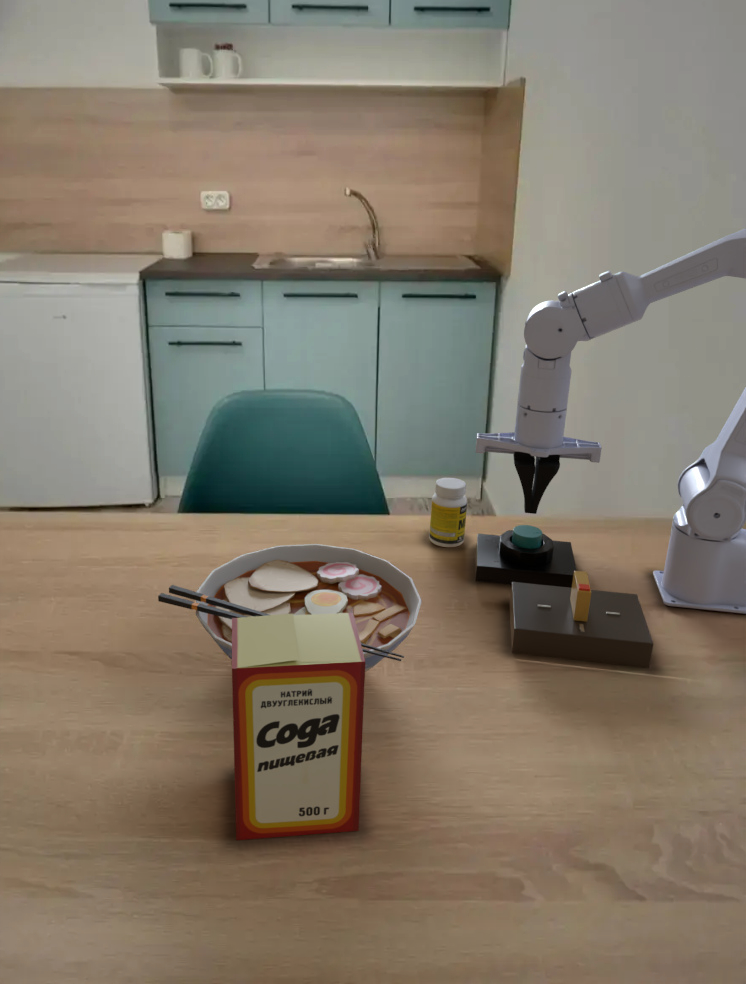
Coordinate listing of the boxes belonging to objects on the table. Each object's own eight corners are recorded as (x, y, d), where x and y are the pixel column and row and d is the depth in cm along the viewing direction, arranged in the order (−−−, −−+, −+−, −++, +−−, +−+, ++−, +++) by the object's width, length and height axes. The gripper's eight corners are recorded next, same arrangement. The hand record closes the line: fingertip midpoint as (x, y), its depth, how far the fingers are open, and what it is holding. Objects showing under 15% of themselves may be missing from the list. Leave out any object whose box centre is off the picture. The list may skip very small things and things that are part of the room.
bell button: (540, 538, 105) (541, 526, 105) (541, 551, 102) (543, 538, 101) (511, 535, 106) (512, 523, 105) (512, 548, 102) (513, 536, 102)
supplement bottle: (462, 550, 109) (467, 491, 107) (427, 546, 110) (431, 488, 107) (465, 534, 114) (469, 477, 111) (430, 530, 115) (434, 474, 112)
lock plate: (633, 616, 95) (637, 592, 94) (649, 668, 86) (653, 642, 85) (509, 603, 97) (511, 580, 96) (511, 652, 88) (514, 627, 87)
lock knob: (570, 598, 92) (574, 568, 91) (582, 600, 92) (587, 569, 91) (573, 620, 88) (578, 588, 87) (587, 622, 88) (591, 590, 87)
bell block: (568, 557, 108) (572, 529, 107) (575, 591, 100) (579, 562, 99) (476, 548, 110) (478, 520, 109) (475, 581, 102) (477, 552, 100)
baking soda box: (347, 771, 71) (353, 608, 65) (358, 830, 65) (365, 657, 59) (235, 778, 70) (231, 614, 64) (236, 840, 64) (231, 664, 58)
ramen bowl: (456, 632, 91) (462, 566, 88) (376, 765, 72) (380, 686, 69) (259, 580, 101) (258, 519, 98) (141, 684, 81) (135, 612, 78)
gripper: (479, 410, 95) (470, 518, 100) (610, 420, 93) (594, 529, 97) (480, 393, 101) (471, 495, 106) (602, 401, 99) (587, 505, 104)
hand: (530, 510), depth 102 cm, fingers closed
